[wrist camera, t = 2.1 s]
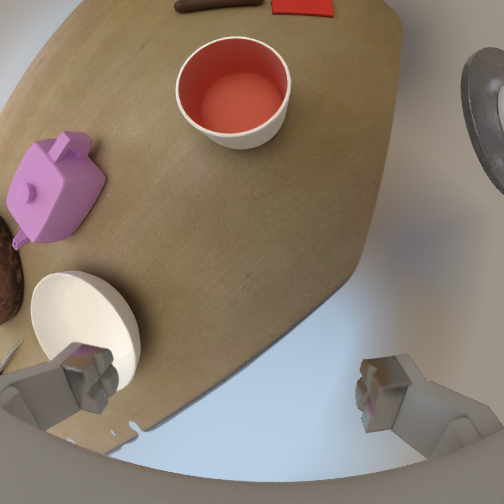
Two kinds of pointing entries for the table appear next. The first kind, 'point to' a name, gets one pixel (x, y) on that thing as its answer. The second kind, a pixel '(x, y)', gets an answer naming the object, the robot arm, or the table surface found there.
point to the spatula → (297, 3)
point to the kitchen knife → (9, 356)
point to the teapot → (54, 189)
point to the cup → (235, 91)
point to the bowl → (85, 319)
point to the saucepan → (9, 276)
